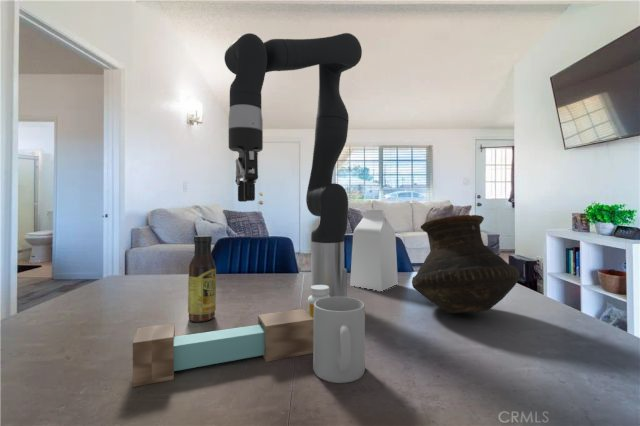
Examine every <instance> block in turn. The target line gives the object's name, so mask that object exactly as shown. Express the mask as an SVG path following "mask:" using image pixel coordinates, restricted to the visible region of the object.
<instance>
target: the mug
mask: <svg viewBox="0 0 640 426" xmlns="http://www.w3.org/2000/svg"><path fill="white" fill-rule="evenodd" d="M365 332H366V305H365V303H364V301H361V300H359V299H358V298H353V297H350V296H349V297H348V296H347V297H326V298H322V299H319V300H317V301H316V302H315V303H314V353H312V354H313V355H312V356H313V359H312V362H313V363H312V364H313V365H312V370H313V373H315V375H316V376H317V377H318V378H319V379H321V380H323V381H325V382H328V383H334V384H335V383H336V384H349V383H353V382H355V381H358V380H359V379H360V378H362V377H363V375H364V373H365V370H366V350H365V349H366V333H365Z"/></svg>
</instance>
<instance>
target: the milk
mask: <svg viewBox="0 0 640 426" xmlns="http://www.w3.org/2000/svg"><path fill="white" fill-rule="evenodd" d="M353 230H354V231H352V246H351V247H352V248H351V263H350V265H351V267H350V281H349V283H350V284H349V286H350V287H354V286H355V287H354V288H359V287H361V288H360V289H364V288H367V289H366V290H369V289H373V290H372V291H375V290H377V291H376V292H380V291H382V292H384V291H383V290H385V289H387V288H389V287H392V286H394V285H396V284H398V285H399V283H398V282H399V281H398V280H399V279H398V261H397V259H398V258H397V240H396V239H397V238H396V230H395V227H393V226H392V224H391V223H390V221H389V219H387V217H386V213H385V212H384V209H365V212H364V214H363V217H362V219H361V220H360V222H358V224H357V225H356V226H355V228H354V229H353ZM394 287H395V286H394ZM392 288H393V287H392ZM389 289H390V288H389ZM387 290H388V289H387ZM385 291H386V290H385Z"/></svg>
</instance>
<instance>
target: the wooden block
mask: <svg viewBox="0 0 640 426" xmlns="http://www.w3.org/2000/svg"><path fill="white" fill-rule="evenodd" d="M260 324H262V325H263V326H264V328H265V355H262V357H263V359H264V362H265V363H267V362H272V361H278V360H284V359H288V358H294V357H298V356H304V355H308V354H309V355H310V354H313V353H314V319H313V318H312V317H311V316H310V315H309V314H308V313H307V311H305V310H304V309H303V308H299V309H292V310H285V311H277V312H268V313H262V314H258V315H257V325H260Z"/></svg>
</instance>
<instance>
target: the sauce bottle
mask: <svg viewBox="0 0 640 426" xmlns="http://www.w3.org/2000/svg"><path fill="white" fill-rule="evenodd" d="M212 241H213V238H212V235H194V236H193V243H194V256H193V257H192V259H191V261H190V263H189V265H188V282H187V283H188V286H187V289H188V291H187V292H188V294H187V300H188V301H187V306H188V307H187V313H188V320H189V321H191V322H193V323H195V322H196V323H200V322H206V321H210V320H212V319H214V317H215V314H216V310H217V302H216V301H217V267H216V264H215V261H214V259H213V255H212Z"/></svg>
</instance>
